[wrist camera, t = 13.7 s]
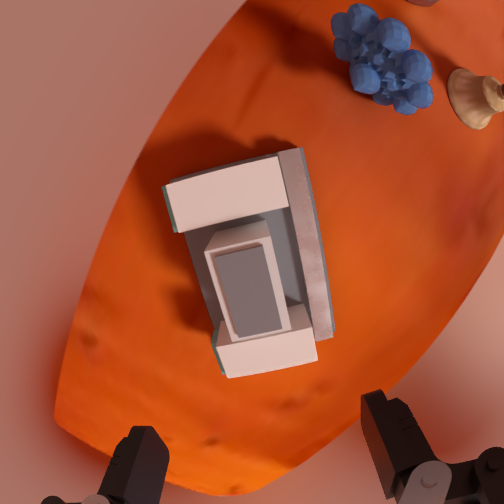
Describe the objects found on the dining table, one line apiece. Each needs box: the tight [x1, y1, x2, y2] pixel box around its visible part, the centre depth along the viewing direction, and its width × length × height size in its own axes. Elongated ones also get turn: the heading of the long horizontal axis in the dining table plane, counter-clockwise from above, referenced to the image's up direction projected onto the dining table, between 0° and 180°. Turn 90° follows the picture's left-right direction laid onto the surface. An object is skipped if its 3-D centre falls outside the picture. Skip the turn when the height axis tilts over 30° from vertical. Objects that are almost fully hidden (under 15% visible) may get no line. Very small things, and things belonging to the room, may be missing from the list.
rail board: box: [162, 147, 335, 378], centre depth 27 cm, size 20×13×6 cm, turn 14°
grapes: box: [331, 3, 433, 115], centre depth 20 cm, size 12×7×12 cm, turn 48°
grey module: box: [204, 220, 292, 342], centre depth 26 cm, size 8×5×7 cm, turn 14°
